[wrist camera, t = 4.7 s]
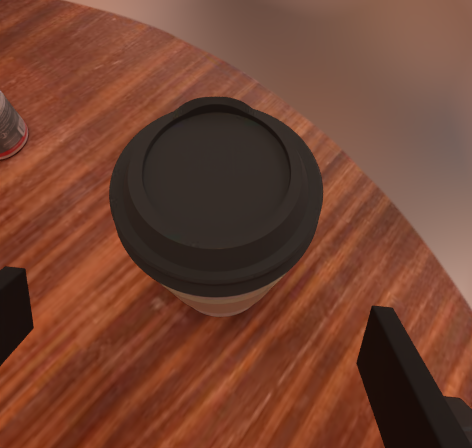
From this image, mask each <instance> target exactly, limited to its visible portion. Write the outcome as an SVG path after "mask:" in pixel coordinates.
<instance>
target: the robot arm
mask: <svg viewBox="0 0 472 448" xmlns="http://www.w3.org/2000/svg"><path fill="white" fill-rule="evenodd" d="M33 328H34V326H33V319H32V312H31V305H30V298H29V291H28V284H27V277H26V270H25V268H16V267H6V266H5V267H4V268H3V269H1V270H0V366H1V365H2V363H3V362H4V361H5V360H6V359H7V358H8V357H9V356H10V354H11V353H12V352H13V351H14V350H15V349H16V348H17V346H18V345H19V344H20V343H21V342H22V341H23V340H24V338H25V337H26V336H27V335H28V334H29V333H30V332H31V330H32V329H33ZM357 366H358V369H359V372H360V375H361V378H362V381H363V384H364V387H365V390H366V393H367V396H368V399H369V402H370V405H371V408H372V411H373V413H374V416H375V419H376V422H377V425H378V428H379V431H380V434H381V437H382V440H383V443H384V446H385V448H472V409H471V408H470V407H469V406H468V405H467V404H466V403H465V402H464V401H462V400H461V399H460V398H455V397H446V396H443V395H442V393H441V391H440V389H439V388H438V386H437V384H436V382H435V381H434V379H433V377H432V375H431V374H430V372H429V370H428V368H427V367H426V365H425V363H424V361H423V360H422V358H421V356H420V355H419V353H418V351H417V349H416V348H415V346H414V344H413V342H412V341H411V339H410V337H409V335H408V334H407V332H406V330H405V328H404V327H403V325H402V323H401V321H400V320H399V318H398V316H397V315H396V313H395V311H394V309H393V308H391V307H381V306H372V307H371V311H370V315H369V319H368V322H367V326H366V330H365V333H364V337H363V341H362V344H361V348H360V352H359V356H358V359H357Z"/></svg>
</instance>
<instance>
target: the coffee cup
mask: <svg viewBox="0 0 472 448" xmlns="http://www.w3.org/2000/svg"><path fill="white" fill-rule="evenodd" d="M109 200H110V208H111V213H112V216H113V220H114V222H115V226H116V230H117V233H118V236H119V238H120V240H121V242H122V244H123V246H124V248H125V250H126V251H127V253H128V254H129V256H130V257H131V258H132V260H133V261H134V262H135V263H136V264H137V265H138V266H139V267H140V268H141V269H142V270H143V271H144V272H145V273H146V274H148V275H149V276H150V277H151V278H153V279H154V280H156V281H158V282H159V283H160V284H161V285H163V286H164V287H165V288H166V289H168V290H169V291H170V292H171V293H173V294H174V295H175V296H176V297H178V298H179V299H180V300H181V301H183V302H184V303H186V304H187V305H189V306H191V307H192V308H194V309H195V310H197V311H199V312H201V313H203V314H206V315H209V316H215V317H227V316H233V315H236V314H239V313H241V312H243V311H245V310H247V309H248V308H250V307H251V306H252V305H253V304H255V303H256V302H258V301H259V300H260V299H261V298H262V297H264V296H265V295H266V294H267V292H268V291H269V290H270V289H271V288H272V287H273V286H274V285H275V284H276V283H277V282H278V281H279V280H280V279H281V278H282V277H283V276H284V275H285V274H286V273H287V272H288V271H289V270H290V269H291V268H292V267H293V266H294V265H295V264H296V263H297V262H298V261H299V259H300V258H301V257H302V256H303V254H304V253H305V251H306V250H307V248H308V247H309V245H310V243H311V241H312V239H313V236H314V234H315V231H316V228H317V224H318V220H319V216H320V212H321V208H322V202H323V184H322V177H321V173H320V170H319V167H318V164H317V162H316V160H315V158H314V156H313V154H312V152H311V150H310V149H309V147H308V146H307V145H306V143H305V142H304V141H303V140H302V139H301V138H300V137H299V136H298V135H297V134H296V133H295V132H294V131H293V130H292V129H291V128H289V127H288V126H287V125H285V124H284V123H283V122H281V121H279V120H278V119H276V118H274V117H272V116H270V115H268V114H266V113H263V112H261V111H258V110H255V109H253V108H251V107H250V106H248V105H247V104H245V103H243V102H241V101H239V100H236V99H233V98H228V97H203V98H197V99H194V100H191V101H189V102H187V103H185V104H183V105H182V106H180V107H179V108H178V109H176V110H175V111H174V112H171V113H169V114H166V115H164V116H162V117H160V118H158V119H157V120H155V121H153V122H152V123H150V124H149V125H147V126H146V127H145V128H143V129H142V130H141V131H140V132H139V133H138V134H136V135H135V136H134V137H133V139H132V140H131V141H130V142H129V143H128V144H127V146H126V147H125V148H124V150H123V151H122V153H121V155H120V156H119V158H118V160H117V162H116V165H115V167H114V170H113V173H112V177H111V181H110V190H109Z"/></svg>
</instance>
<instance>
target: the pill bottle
mask: <svg viewBox="0 0 472 448" xmlns="http://www.w3.org/2000/svg"><path fill="white" fill-rule="evenodd" d="M27 138H28V128H27V125H26V123H25V122H24V120H23V119H22V118H21V116H20V115H19V114H18V113H17V111H16V110H15V109H14V108H13V106H12V105H11V104H10V102H9V101H8V100H7V98H6V97H5V96H4V95H3V93H2V92H1V91H0V160H1V159H5V158H8V157H10V156H12V155H14V154H15V153H16V152H18V151H19V150H20V149H21V148H22V147H23V146H24V144H25V143H26V141H27Z"/></svg>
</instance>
